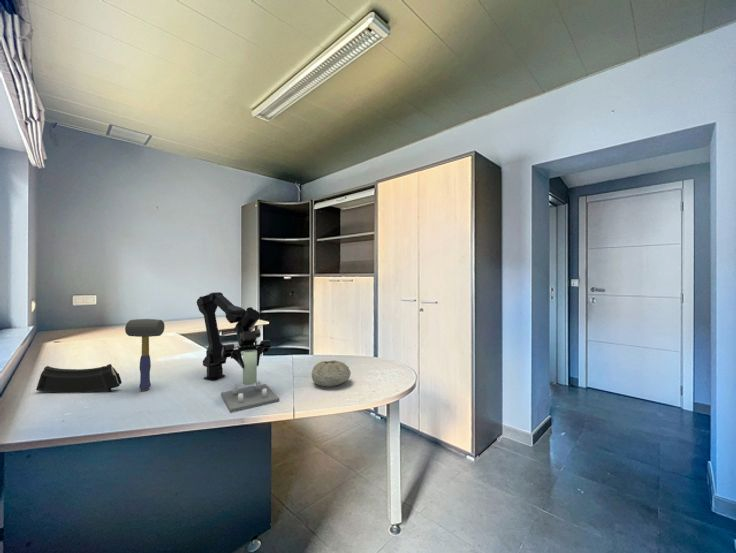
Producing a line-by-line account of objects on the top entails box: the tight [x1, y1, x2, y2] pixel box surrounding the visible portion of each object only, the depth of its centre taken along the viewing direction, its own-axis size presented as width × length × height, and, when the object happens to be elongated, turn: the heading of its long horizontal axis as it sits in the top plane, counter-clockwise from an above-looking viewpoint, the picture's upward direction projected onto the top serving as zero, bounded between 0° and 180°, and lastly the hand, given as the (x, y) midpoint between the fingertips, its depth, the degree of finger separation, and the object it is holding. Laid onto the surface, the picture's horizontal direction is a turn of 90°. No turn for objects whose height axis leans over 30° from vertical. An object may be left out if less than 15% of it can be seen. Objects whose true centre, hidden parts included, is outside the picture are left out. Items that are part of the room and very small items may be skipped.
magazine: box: [35, 363, 123, 394], centre depth 127 cm, size 17×3×30 cm
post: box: [242, 350, 258, 386], centre depth 124 cm, size 5×5×12 cm
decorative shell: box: [311, 360, 352, 387], centre depth 142 cm, size 18×18×10 cm
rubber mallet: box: [124, 318, 165, 391], centre depth 130 cm, size 12×8×30 cm, turn 96°
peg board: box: [220, 381, 280, 413], centre depth 124 cm, size 18×18×4 cm
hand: (250, 366), depth 123 cm, fingers closed on post, 5 cm apart
